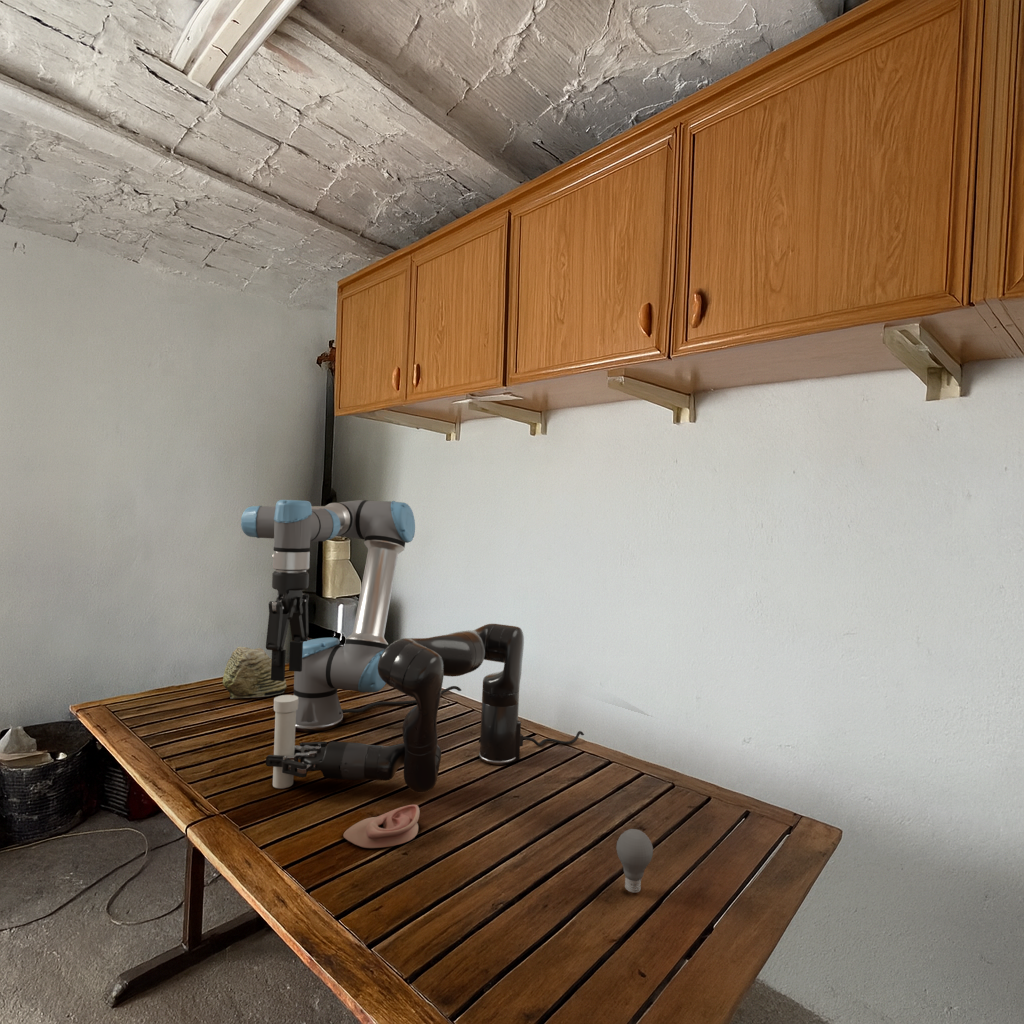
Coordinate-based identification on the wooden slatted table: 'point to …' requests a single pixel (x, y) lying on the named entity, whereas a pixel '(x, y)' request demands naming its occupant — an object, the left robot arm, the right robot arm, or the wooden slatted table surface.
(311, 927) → the wooden slatted table surface
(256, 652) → the fossil
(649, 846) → the light bulb
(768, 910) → the wooden slatted table surface
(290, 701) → the lid
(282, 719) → the off-white cylindrical rod
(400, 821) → the anatomical model
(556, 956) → the wooden slatted table surface
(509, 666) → the right robot arm
